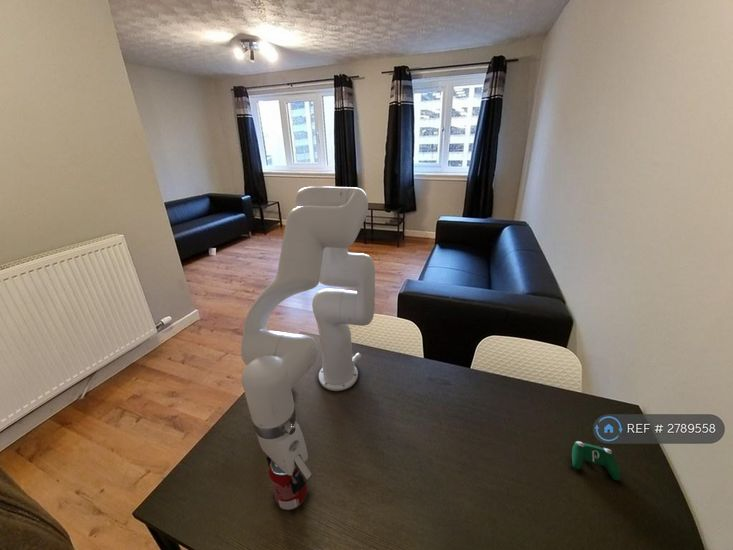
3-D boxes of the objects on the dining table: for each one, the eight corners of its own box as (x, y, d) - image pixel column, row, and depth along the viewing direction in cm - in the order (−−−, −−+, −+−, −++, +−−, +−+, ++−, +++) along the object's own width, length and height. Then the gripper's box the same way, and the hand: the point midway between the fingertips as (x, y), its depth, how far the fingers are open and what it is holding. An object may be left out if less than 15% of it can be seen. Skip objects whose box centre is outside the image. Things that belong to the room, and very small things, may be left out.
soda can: (300, 515, 63) (293, 481, 58) (270, 508, 64) (260, 474, 59) (311, 481, 69) (306, 448, 64) (284, 475, 70) (276, 442, 65)
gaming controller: (613, 478, 70) (613, 449, 72) (622, 482, 67) (621, 452, 69) (568, 465, 73) (568, 438, 75) (574, 469, 70) (574, 440, 71)
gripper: (322, 428, 53) (329, 487, 61) (264, 383, 63) (277, 439, 71) (288, 462, 48) (301, 522, 56) (230, 406, 58) (248, 464, 66)
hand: (287, 475), depth 63 cm, fingers closed on soda can, 6 cm apart
